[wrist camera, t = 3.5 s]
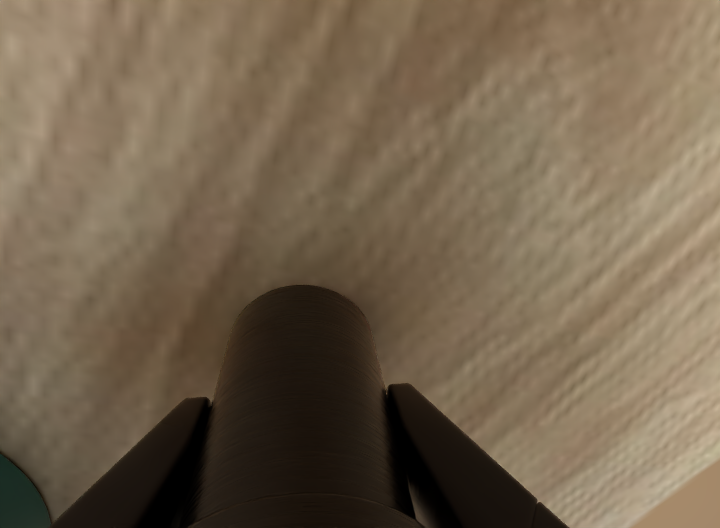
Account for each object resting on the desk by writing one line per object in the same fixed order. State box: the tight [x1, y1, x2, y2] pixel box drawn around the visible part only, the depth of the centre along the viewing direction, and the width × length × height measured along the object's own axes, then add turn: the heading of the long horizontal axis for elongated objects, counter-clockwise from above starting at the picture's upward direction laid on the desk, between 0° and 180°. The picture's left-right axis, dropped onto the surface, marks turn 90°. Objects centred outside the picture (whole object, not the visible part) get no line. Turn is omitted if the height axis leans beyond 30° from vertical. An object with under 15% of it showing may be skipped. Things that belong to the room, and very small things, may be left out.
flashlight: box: [179, 285, 426, 528], centre depth 7 cm, size 4×4×8 cm
